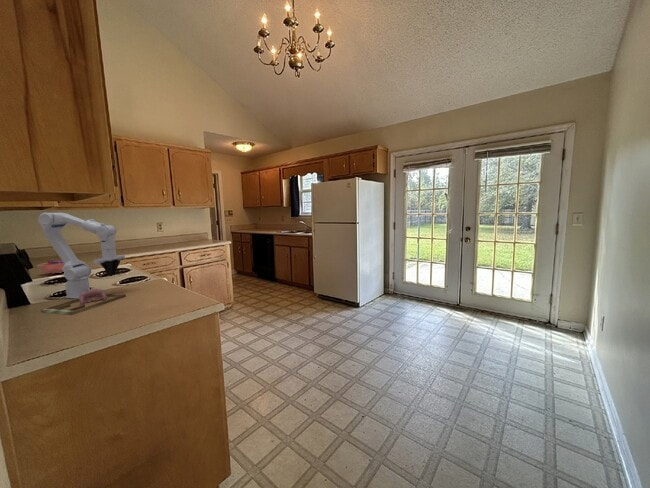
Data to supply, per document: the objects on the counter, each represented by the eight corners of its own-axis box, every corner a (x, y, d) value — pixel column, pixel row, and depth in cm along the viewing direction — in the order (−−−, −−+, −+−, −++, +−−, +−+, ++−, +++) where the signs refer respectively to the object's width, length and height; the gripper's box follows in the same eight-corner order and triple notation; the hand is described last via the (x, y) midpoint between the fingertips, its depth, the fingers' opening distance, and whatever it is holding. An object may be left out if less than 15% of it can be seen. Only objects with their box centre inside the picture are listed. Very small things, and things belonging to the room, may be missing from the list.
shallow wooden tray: (41, 312, 119) (40, 309, 119) (98, 294, 142) (97, 292, 142) (72, 314, 115) (72, 311, 115) (125, 296, 138) (125, 294, 138)
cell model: (40, 274, 197) (37, 258, 196) (77, 269, 210) (75, 255, 209) (37, 278, 185) (35, 261, 183) (77, 273, 198) (75, 257, 196)
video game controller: (106, 302, 135) (104, 288, 137) (107, 299, 132) (104, 286, 134) (80, 307, 129) (77, 293, 130) (80, 305, 125) (77, 290, 127)
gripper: (100, 251, 131) (103, 279, 132) (128, 247, 145) (131, 272, 146) (88, 251, 132) (92, 278, 134) (117, 247, 146) (120, 271, 148)
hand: (112, 275), depth 140 cm, fingers closed
